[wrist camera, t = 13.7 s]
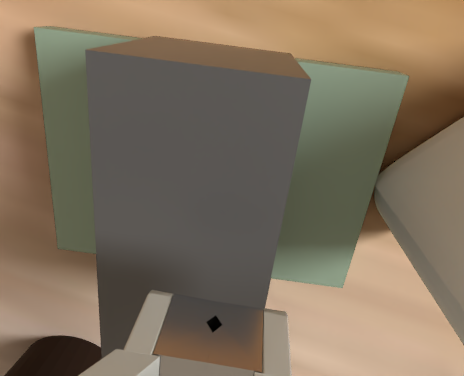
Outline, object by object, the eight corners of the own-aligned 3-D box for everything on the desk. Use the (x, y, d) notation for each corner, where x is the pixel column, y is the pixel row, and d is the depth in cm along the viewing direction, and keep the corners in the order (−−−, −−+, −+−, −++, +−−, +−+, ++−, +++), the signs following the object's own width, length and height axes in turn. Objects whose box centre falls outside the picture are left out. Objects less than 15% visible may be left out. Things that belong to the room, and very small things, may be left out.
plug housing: (290, 53, 13) (311, 79, 8) (250, 281, 18) (246, 396, 13) (155, 36, 13) (84, 49, 8) (149, 267, 18) (102, 375, 13)
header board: (398, 71, 15) (455, 94, 10) (337, 272, 19) (360, 347, 15) (50, 26, 15) (-35, 30, 10) (69, 235, 19) (14, 298, 15)
